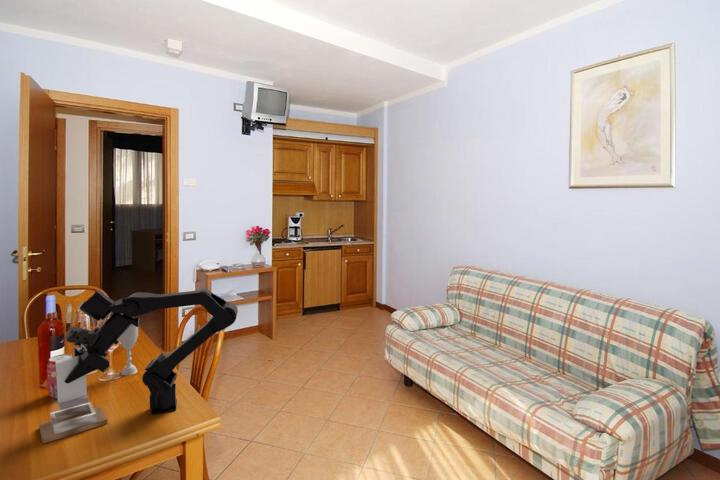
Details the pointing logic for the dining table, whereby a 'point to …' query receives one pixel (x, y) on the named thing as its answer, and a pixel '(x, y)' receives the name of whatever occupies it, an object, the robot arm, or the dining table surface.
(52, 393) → the soda can
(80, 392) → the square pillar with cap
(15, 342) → the dining table surface
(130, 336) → the chalice
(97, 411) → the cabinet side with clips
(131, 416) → the dining table surface
